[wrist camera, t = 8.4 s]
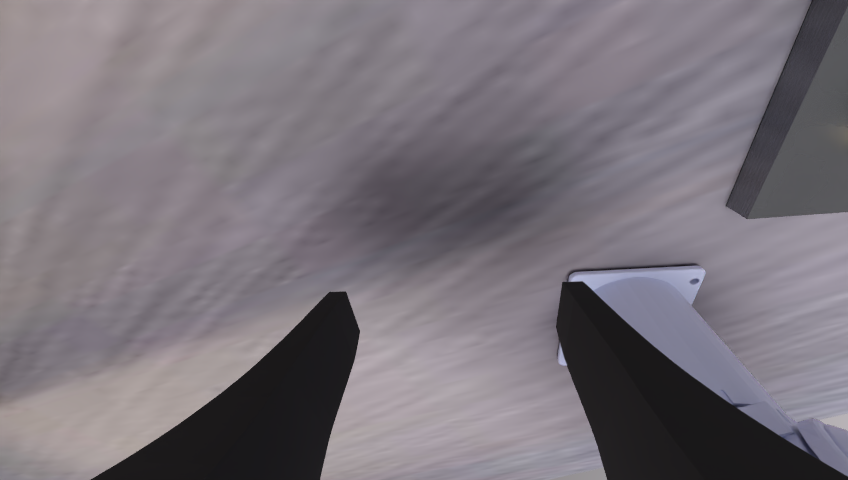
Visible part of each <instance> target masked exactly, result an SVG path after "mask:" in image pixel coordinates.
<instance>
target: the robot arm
mask: <svg viewBox="0 0 848 480" xmlns="http://www.w3.org/2000/svg"><path fill="white" fill-rule="evenodd" d="M705 274H706V272H705V270H704V269H703V268H702V267H700V266H679V267H660V268H641V269H622V270H603V271H585V272H574V273H572V274H571V275H570V276H569V280H568V282H562V289H561V296H560V303H559V310H558V317H557V325H556V328H557V332H558V336H559V340H560V344H559V351H558V358H557V359H558V362H559V364H560V365H564V366H567V367H568V369H569V372H570V374H571V377H572V380H573V382H574V385H575V387H576V390H577V392H578V395H579V398H580V400H581V403H582V405H583V408H584V410H585V413H586V416H587V418H588V421H589V423H590V426H591V428H592V431H593V434H594V437H595V440H596V443H597V446H598V449H599V453H600V456H601V459H602V463H603V466H604V470H605V473H606V477H607V480H848V431H847V430H844V429H841V428H838V427H834V426H831V425H826V424H824V423H823V422H821V421H820V420H817V419H814V418H811V419H807V420H804V421H800V422H796V421H795V420H793V419H792V418H790V417H789V416H788V415H787V414H786V413H785V412H784V411H783V409H782V408H781V407H780V406H779V405H778V404H777V403H776V401H775V400H774V399H773V398H772V397H771V396H770V395H769V393H768V392H767V391H766V390H765V389H764V388H763V387H762V385H761V384H760V383H759V382H758V381H757V380H756V379H755V377H754V376H753V375H752V374H751V373H750V372H749V371H748V369H747V368H746V367H745V366H744V365H743V364H742V363H741V362H740V360H739V359H738V358H737V357H736V356H735V355H734V354H733V352H732V351H731V350H730V349H729V348H728V347H727V346H726V344H725V343H724V342H723V341H722V340H721V339H720V338H719V336H718V335H717V334H716V333H715V332H714V331H713V330H712V328H711V327H710V326H709V325H708V324H707V323H706V322H705V320H704V319H703V318H702V317H701V316H700V315H699V314H698V312H697V311H696V310H695V309H694V308H693V307H692V304H693V301H694V299H695V297H696V295H697V292H698V290H699V288H700V286H701V283H702V281H703V279H704V276H705ZM692 279H693V280H692ZM359 334H360V330H359V327H358V324H357V322H356V319H355V316H354V313H353V310H352V308H351V305H350V302H349V299H348V296H347V293H346V292H329V293H328V294H327V295H326V296H325V297H324V298H323V299H322V300H321V301H320V302H319V303H318V304H317V305H316V306H315V307H314V308H313V309H312V310H311V311H310V312H309V313H308V314H307V315H306V316H305V318H304V319H303V320H302V321H301V322H300V323H299V324H298V325H297V326H296V327H295V328H294V329H293V330H292V331H291V332H290V333H289V334H288V335H287V336H286V337H285V338H284V339H283V340H282V341H281V342H279V343H278V344H277V345H276V346H275V347H274V348H273V349H272V350H271V351H270V352H269V353H268V354H267V355H265V356H264V357H263V358H262V359H261V360H260V361H259V362H258V363H257V364H256V365H255V366H253V367H252V368H251V369H250V370H249V371H248V372H247V373H245V374H244V375H243V376H242V377H241V378H239V379H238V380H237V381H236V382H234V383H233V384H232V385H231V386H230V387H228V388H227V389H226V390H225V391H223V392H222V393H221V394H219V395H218V396H217V397H216V398H214V399H213V400H211V401H210V402H209V403H207V404H206V405H205V406H203V407H202V408H201V409H199V410H198V411H196V412H195V413H194V414H192V415H191V416H190V417H188V418H187V419H185V420H184V421H183V422H181V423H180V424H178V425H177V426H175V427H174V428H173V429H171V430H170V431H168V432H167V433H165V434H164V435H162V436H161V437H159V438H158V439H156V440H155V441H153V442H151V443H150V444H148V445H147V446H145V447H144V448H142V449H141V450H139V451H137V452H136V453H134V454H133V455H131V456H129V457H128V458H126V459H125V460H123V461H121V462H120V463H118V464H116V465H115V466H113V467H111V468H110V469H108V470H106V471H104V472H103V473H101V474H99V475H98V476H96V477H94V478H93V479H91V480H320V477H321V472H322V468H323V463H324V459H325V455H326V450H327V446H328V442H329V438H330V434H331V431H332V427H333V424H334V421H335V418H336V415H337V412H338V409H339V406H340V403H341V400H342V397H343V394H344V391H345V388H346V385H347V382H348V378H349V375H350V372H351V369H352V366H353V363H354V360H355V355H356V350H357V345H358V340H359Z"/></svg>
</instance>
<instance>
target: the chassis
mask: <svg viewBox="0 0 848 480" xmlns="http://www.w3.org/2000/svg"><path fill="white" fill-rule="evenodd" d="M726 206H727V207H729V208H730V209H732V210H733V211H735V212H737V213H738V214H740V215H741V216H743V217H745V218H746V219H755V218H769V217H783V216H797V215H811V214H825V213H839V212H848V0H813V2H812V4H811V6H810V9H809V11H808V13H807V16H806V18H805V21H804V23H803V25H802V28H801V30H800V32H799V35H798V37H797V39H796V42H795V44H794V47H793V49H792V51H791V54H790V56H789V58H788V61H787V63H786V66H785V68H784V70H783V73H782V75H781V77H780V80H779V82H778V84H777V87H776V89H775V92H774V94H773V96H772V99H771V101H770V103H769V106H768V108H767V111H766V113H765V115H764V118H763V120H762V122H761V125H760V127H759V129H758V132H757V134H756V137H755V139H754V141H753V144H752V146H751V148H750V151H749V153H748V156H747V158H746V160H745V163H744V165H743V167H742V170H741V172H740V174H739V177H738V179H737V182H736V184H735V186H734V189H733V191H732V193H731V196H730V198H729V201H728V203H727V205H726Z"/></svg>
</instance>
